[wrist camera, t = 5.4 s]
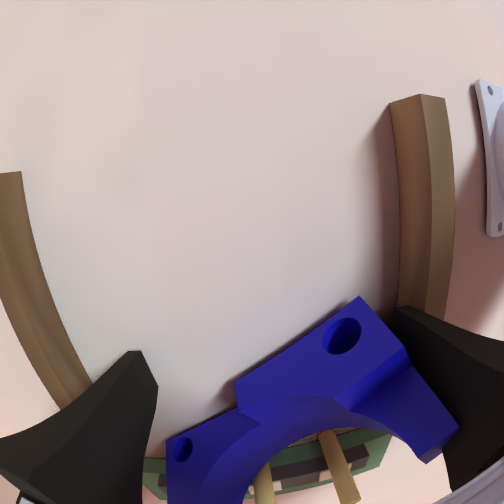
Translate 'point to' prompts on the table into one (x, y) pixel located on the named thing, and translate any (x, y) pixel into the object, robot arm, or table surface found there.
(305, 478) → the header board
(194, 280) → the table surface
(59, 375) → the guide rails
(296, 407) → the cable clip
